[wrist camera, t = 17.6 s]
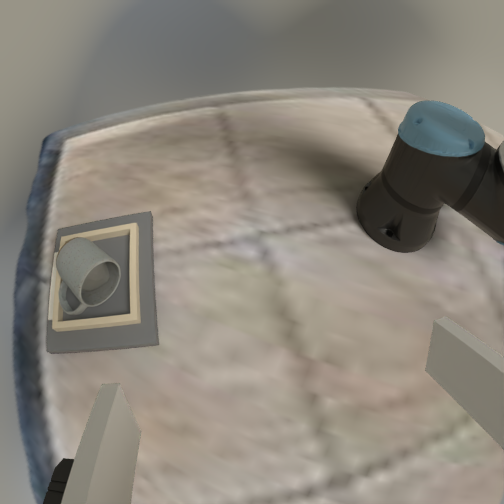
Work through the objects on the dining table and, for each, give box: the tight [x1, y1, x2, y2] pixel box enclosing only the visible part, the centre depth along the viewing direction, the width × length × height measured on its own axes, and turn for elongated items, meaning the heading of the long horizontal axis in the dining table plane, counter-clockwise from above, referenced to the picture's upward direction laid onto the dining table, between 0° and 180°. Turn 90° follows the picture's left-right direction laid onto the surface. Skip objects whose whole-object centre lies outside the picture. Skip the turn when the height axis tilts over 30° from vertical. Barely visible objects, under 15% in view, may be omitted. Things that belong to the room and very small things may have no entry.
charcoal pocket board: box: [47, 211, 159, 354], centre depth 44 cm, size 18×22×3 cm
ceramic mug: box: [56, 237, 121, 315], centre depth 40 cm, size 11×8×8 cm
